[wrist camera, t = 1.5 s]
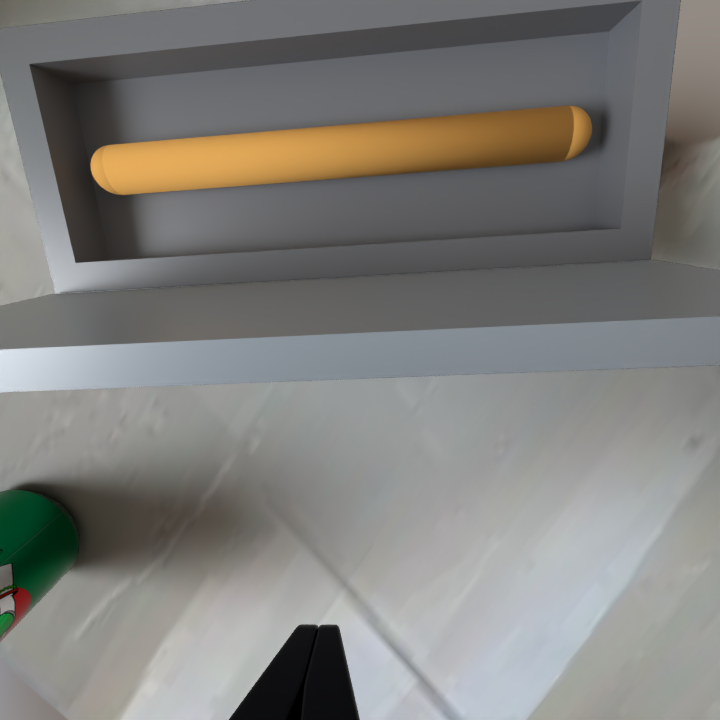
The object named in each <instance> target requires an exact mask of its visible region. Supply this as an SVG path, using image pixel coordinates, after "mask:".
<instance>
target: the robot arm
mask: <svg viewBox="0 0 720 720" xmlns="http://www.w3.org/2000/svg"><path fill="white" fill-rule="evenodd" d="M229 720H360V719H359V714H358V710H357V705H356V701H355V696H354V692H353V687H352V683H351V678H350V674H349V669H348V665H347V660H346V656H345V651H344V647H343V642H342V638H341V633H340V629H339V627H338V626H337V625H320V626H319V627H318V626H317V625H299V626H298V627H297V628H296V629H295V630H294V632H293V633H292V634H291V636H290V637H289V638H288V640H287V641H286V643H285V644H284V645H283V647H282V648H281V649H280V651H279V652H278V653H277V655H276V656H275V657H274V659H273V660H272V662H271V663H270V664H269V666H268V667H267V668H266V670H265V671H264V672H263V674H262V675H261V677H260V678H259V679H258V681H257V682H256V683H255V685H254V686H253V687H252V689H251V690H250V692H249V693H248V694H247V696H246V697H245V698H244V700H243V701H242V702H241V704H240V705H239V707H238V708H237V709H236V711H235V712H234V713H233V715H232V716H231V717H230V719H229Z"/></svg>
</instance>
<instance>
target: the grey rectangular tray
mask: <svg viewBox="0 0 720 720" xmlns="http://www.w3.org/2000/svg"><path fill="white" fill-rule="evenodd" d="M680 2H681V0H249V1H240V2H231V3H222V4H213V5H204V6H195V7H186V8H178V9H169V10H160V11H151V12H142V13H133V14H124V15H115V16H106V17H97V18H88V19H79V20H70V21H61V22H52V23H43V24H34V25H25V26H16V27H7V28H0V73H1V77H2V81H3V85H4V89H5V93H6V97H7V101H8V105H9V109H10V113H11V117H12V121H13V125H14V129H15V133H16V137H17V141H18V145H19V149H20V153H21V157H22V161H23V165H24V169H25V173H26V177H27V181H28V185H29V189H30V193H31V197H32V201H33V205H34V209H35V213H36V217H37V221H38V225H39V229H40V233H41V237H42V241H43V245H44V249H45V253H46V257H47V261H48V265H49V269H50V273H51V277H52V281H53V285H54V289H55V293H56V294H57V293H74V292H92V291H109V290H127V289H144V288H162V287H180V286H197V285H215V284H232V283H250V282H267V281H285V280H302V279H320V278H337V277H355V276H372V275H390V274H407V273H425V272H443V271H460V270H478V269H495V268H513V267H530V266H548V265H565V264H583V263H600V262H618V261H635V260H651V254H652V245H653V236H654V228H655V219H656V210H657V202H658V193H659V184H660V176H661V167H662V158H663V150H664V141H665V132H666V124H667V115H668V106H669V97H670V88H671V79H672V72H673V63H674V54H675V46H676V37H677V28H678V20H679V11H680ZM567 105H568V106H576V107H580V108H581V109H583V110H584V111H585V112H586V113H587V114H588V116H589V117H590V119H591V123H592V134H591V138H590V140H589V142H588V144H587V146H586V147H585V148H584V150H583V151H582V152H581V153H580V154H579V155H577V156H576V157H574V158H572V159H570V160H567V161H562V162H551V163H538V164H525V165H512V166H499V167H485V168H472V169H459V170H446V171H433V172H419V173H406V174H393V175H380V176H367V177H353V178H340V179H327V180H314V181H301V182H288V183H274V184H261V185H248V186H235V187H222V188H208V189H195V190H182V191H169V192H156V193H142V194H129V195H117V194H113V193H110V192H108V191H106V190H105V189H103V188H102V187H101V186H100V185H99V184H98V183H97V182H96V180H95V179H94V177H93V175H92V172H91V159H92V156H93V154H94V153H95V152H96V151H97V150H98V149H99V148H101V147H103V146H106V145H113V144H125V143H137V142H148V141H160V140H172V139H183V138H195V137H207V136H218V135H230V134H241V133H253V132H265V131H276V130H288V129H300V128H311V127H323V126H335V125H346V124H358V123H370V122H381V121H393V120H404V119H416V118H428V117H439V116H451V115H463V114H474V113H486V112H498V111H509V110H521V109H532V108H544V107H556V106H567Z"/></svg>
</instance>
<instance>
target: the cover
mask: <svg viewBox="0 0 720 720" xmlns="http://www.w3.org/2000/svg"><path fill="white" fill-rule="evenodd" d="M711 365H720V270H715V269H708V268H702V267H696V266H689V265H683V264H677V263H670V262H664V261H658V260H645V261H628V262H610V263H593V264H575V265H557V266H540V267H522V268H505V269H487V270H470V271H452V272H434V273H417V274H399V275H382V276H364V277H347V278H329V279H311V280H294V281H276V282H259V283H241V284H224V285H206V286H188V287H171V288H153V289H136V290H118V291H101V292H83V293H66V294H50V295H46V296H42V297H37V298H33V299H28V300H24V301H19V302H15V303H10V304H6V305H1V306H0V392H20V391H47V390H73V389H100V388H126V387H153V386H179V385H206V384H232V383H259V382H286V381H312V380H339V379H365V378H392V377H418V376H445V375H471V374H498V373H525V372H551V371H578V370H604V369H631V368H657V367H684V366H711Z"/></svg>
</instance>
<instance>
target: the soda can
mask: <svg viewBox="0 0 720 720" xmlns="http://www.w3.org/2000/svg"><path fill="white" fill-rule="evenodd" d="M78 550H79V538H78V531H77V527H76V525H75V522H74V520H73V519H72V517H71V515H70V514H69V513H68V512H67V510H66V509H65V508H64V507H63V506H62V505H60V504H59V503H58V502H56V501H55V500H53V499H52V498H50V497H48V496H46V495H43V494H40V493H36V492H32V491H25V490H7V491H1V492H0V642H1V641H2V640H3V639H4V638H5V637H6V635H7V634H8V633H9V632H10V631H11V630H12V629H13V628H14V627H15V626H16V625H17V624H18V623H19V622H20V621H21V620H22V619H23V618H24V617H25V616H26V615H27V614H28V613H29V612H30V610H31V609H32V608H33V607H34V606H35V605H36V604H37V603H38V602H39V601H40V600H41V599H42V598H43V597H44V596H45V595H46V594H47V593H48V592H49V591H50V590H51V589H52V588H53V587H54V585H55V584H56V583H57V582H58V581H59V580H60V579H61V578H62V577H63V576H64V575H65V574H66V573H67V572H68V571H69V570H70V569H71V567H72V566H73V565H74V563H75V561H76V559H77V556H78Z"/></svg>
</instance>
